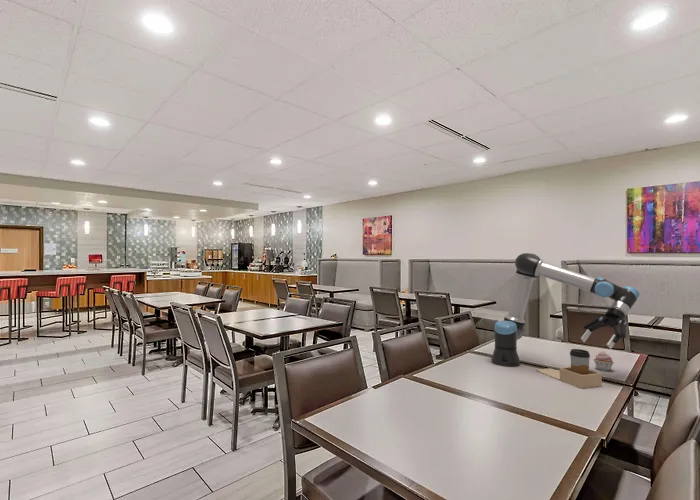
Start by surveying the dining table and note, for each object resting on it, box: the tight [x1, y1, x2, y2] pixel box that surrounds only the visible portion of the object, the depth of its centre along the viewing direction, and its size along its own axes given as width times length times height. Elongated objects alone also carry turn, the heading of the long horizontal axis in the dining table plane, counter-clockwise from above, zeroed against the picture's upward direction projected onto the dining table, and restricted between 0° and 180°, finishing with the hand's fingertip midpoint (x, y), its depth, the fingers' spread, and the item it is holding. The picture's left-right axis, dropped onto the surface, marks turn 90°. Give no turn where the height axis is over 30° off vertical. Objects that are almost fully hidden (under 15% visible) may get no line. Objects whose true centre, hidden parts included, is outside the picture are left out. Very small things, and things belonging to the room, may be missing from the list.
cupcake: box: [592, 351, 615, 372], centre depth 198 cm, size 9×9×10 cm
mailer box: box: [536, 366, 603, 390], centre depth 182 cm, size 28×12×6 cm, turn 18°
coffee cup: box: [569, 348, 591, 375], centre depth 175 cm, size 8×8×15 cm
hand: (595, 343), depth 178 cm, fingers open, 13 cm apart
